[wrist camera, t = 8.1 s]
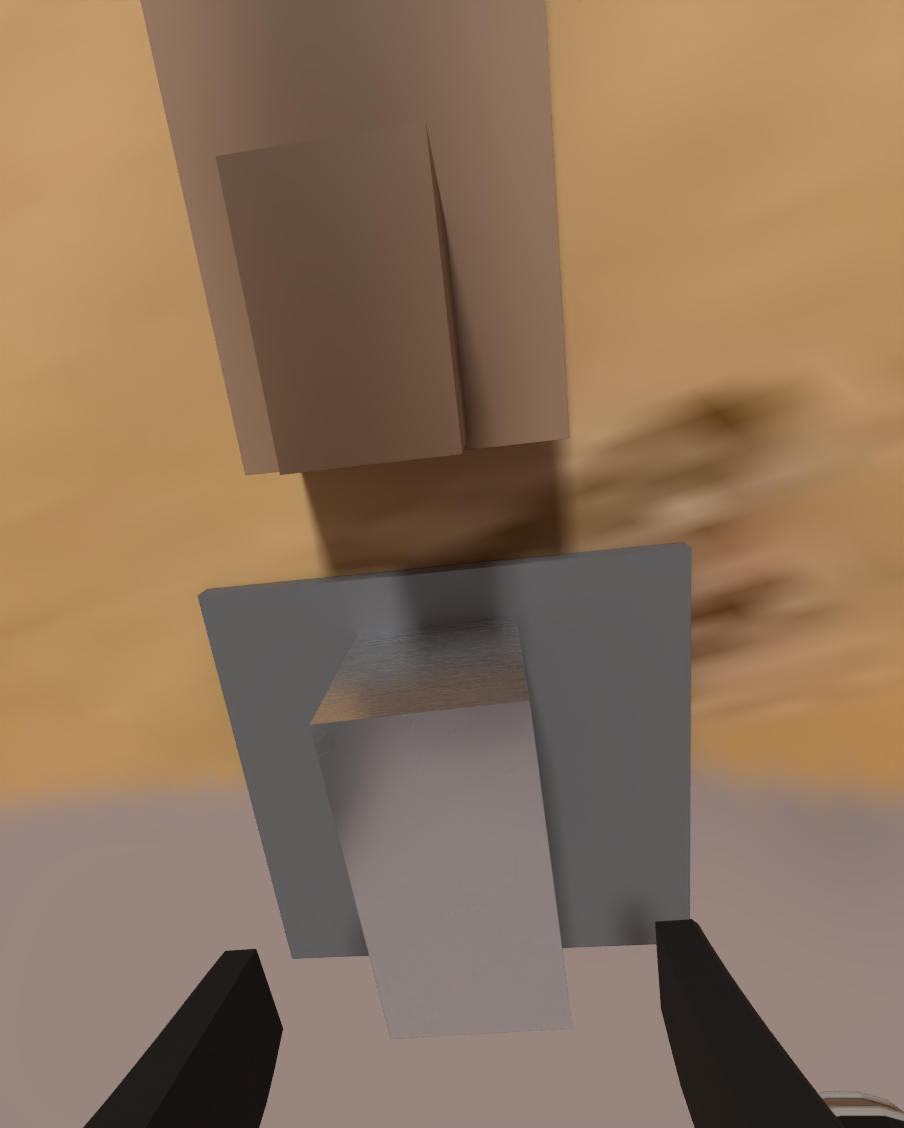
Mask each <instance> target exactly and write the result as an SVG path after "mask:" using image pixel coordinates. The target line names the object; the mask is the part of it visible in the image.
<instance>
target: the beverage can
mask: <svg viewBox="0 0 904 1128" xmlns="http://www.w3.org/2000/svg"><path fill="white" fill-rule="evenodd" d="M818 1094H819V1095H820V1097H821V1098H822V1099H823V1100H824V1102H825V1103H826V1104H827V1106H828V1107H829V1108H830V1109H831V1111H832V1112H833V1113H834V1114H835V1115H836V1117H837V1118H838V1119H839V1120H840V1122H841V1123H842V1124H843V1125H844V1126H845V1128H904V1112H903V1111H902V1110H900V1109H899V1108H898V1107H896V1106H895V1105H893V1104H892V1103H891V1102H889V1101H888V1100H886V1099H882V1098H879V1097H875V1096H871V1095H868V1094H864V1093H861V1092H821V1093H818Z"/></svg>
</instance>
